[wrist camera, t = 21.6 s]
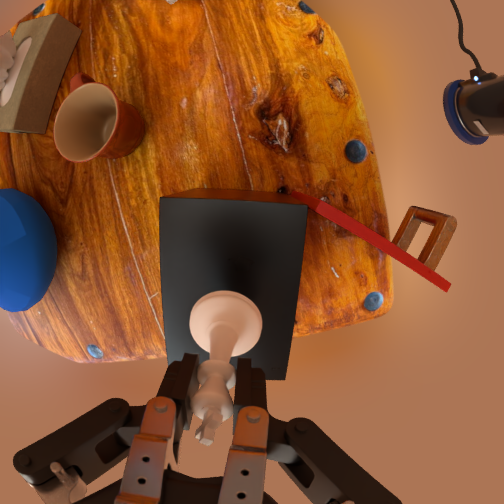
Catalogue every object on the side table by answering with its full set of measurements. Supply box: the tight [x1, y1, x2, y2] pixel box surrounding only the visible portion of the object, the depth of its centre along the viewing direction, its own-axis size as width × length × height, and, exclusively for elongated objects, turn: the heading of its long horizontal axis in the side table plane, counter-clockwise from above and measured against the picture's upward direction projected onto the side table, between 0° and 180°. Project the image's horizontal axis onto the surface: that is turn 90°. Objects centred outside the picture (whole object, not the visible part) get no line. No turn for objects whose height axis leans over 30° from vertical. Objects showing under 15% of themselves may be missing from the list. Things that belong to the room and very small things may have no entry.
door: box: [290, 190, 457, 292], centre depth 28 cm, size 7×16×15 cm, turn 63°
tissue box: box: [0, 13, 82, 134], centre depth 21 cm, size 19×10×16 cm, turn 164°
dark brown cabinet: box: [159, 188, 308, 380], centre depth 29 cm, size 11×16×15 cm
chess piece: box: [189, 291, 262, 446], centre depth 14 cm, size 5×5×10 cm
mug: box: [53, 72, 145, 163], centre depth 27 cm, size 12×9×10 cm
